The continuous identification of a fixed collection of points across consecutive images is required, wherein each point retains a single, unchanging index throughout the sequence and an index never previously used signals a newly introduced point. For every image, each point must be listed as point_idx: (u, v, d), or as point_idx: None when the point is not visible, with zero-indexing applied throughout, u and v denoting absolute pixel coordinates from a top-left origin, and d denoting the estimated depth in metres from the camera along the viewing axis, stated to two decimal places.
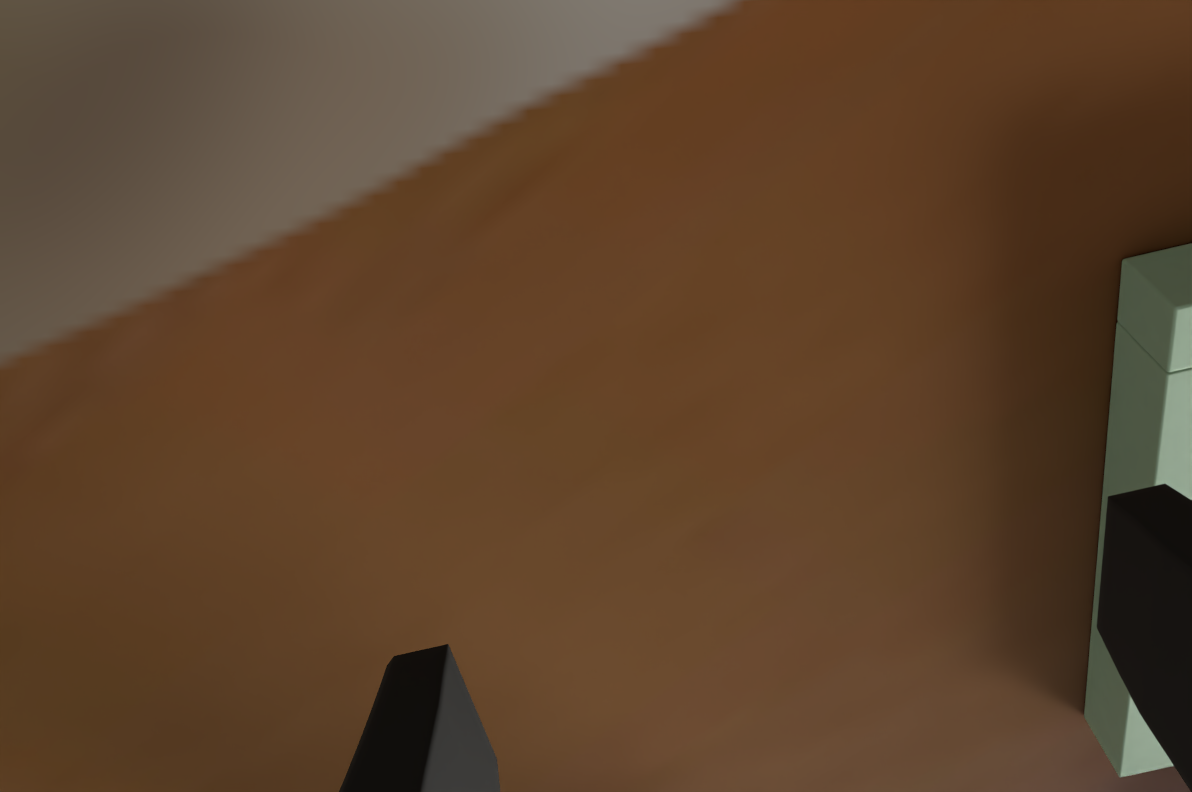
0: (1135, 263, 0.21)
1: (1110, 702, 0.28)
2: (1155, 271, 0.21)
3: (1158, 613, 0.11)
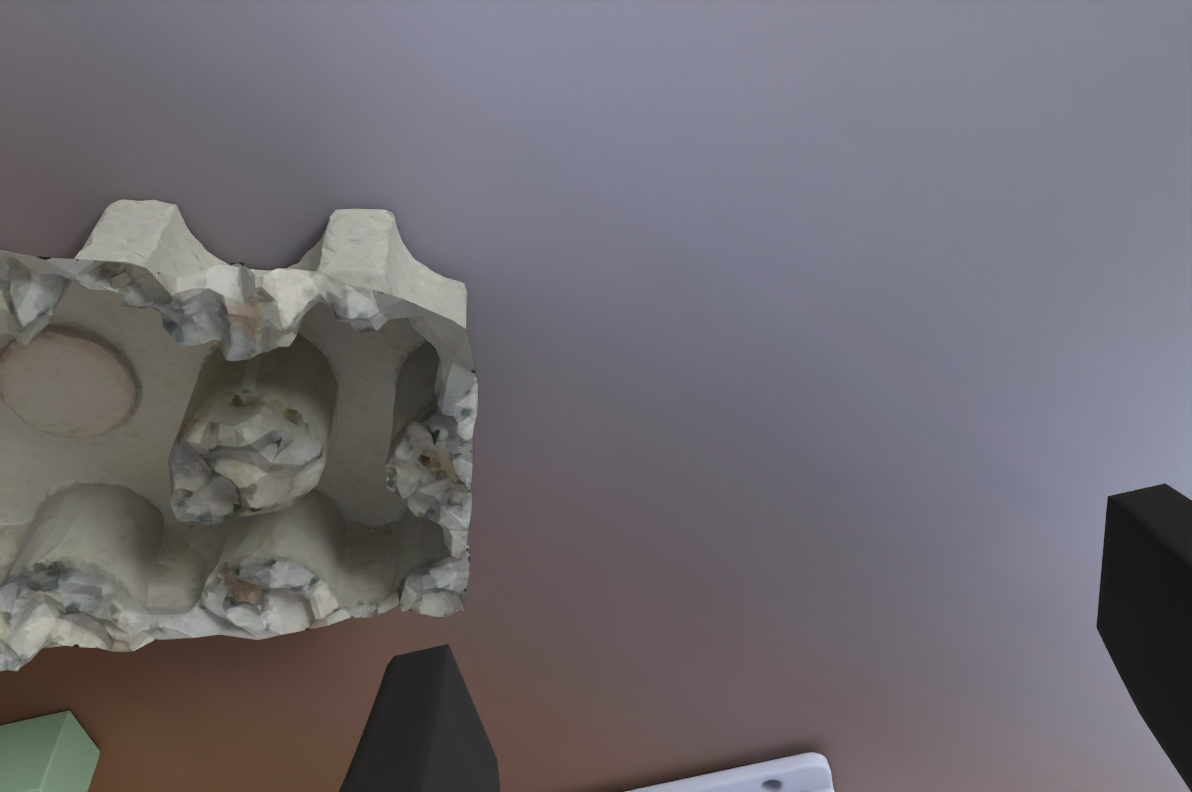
0: None
1: None
2: None
3: (1158, 613, 0.11)
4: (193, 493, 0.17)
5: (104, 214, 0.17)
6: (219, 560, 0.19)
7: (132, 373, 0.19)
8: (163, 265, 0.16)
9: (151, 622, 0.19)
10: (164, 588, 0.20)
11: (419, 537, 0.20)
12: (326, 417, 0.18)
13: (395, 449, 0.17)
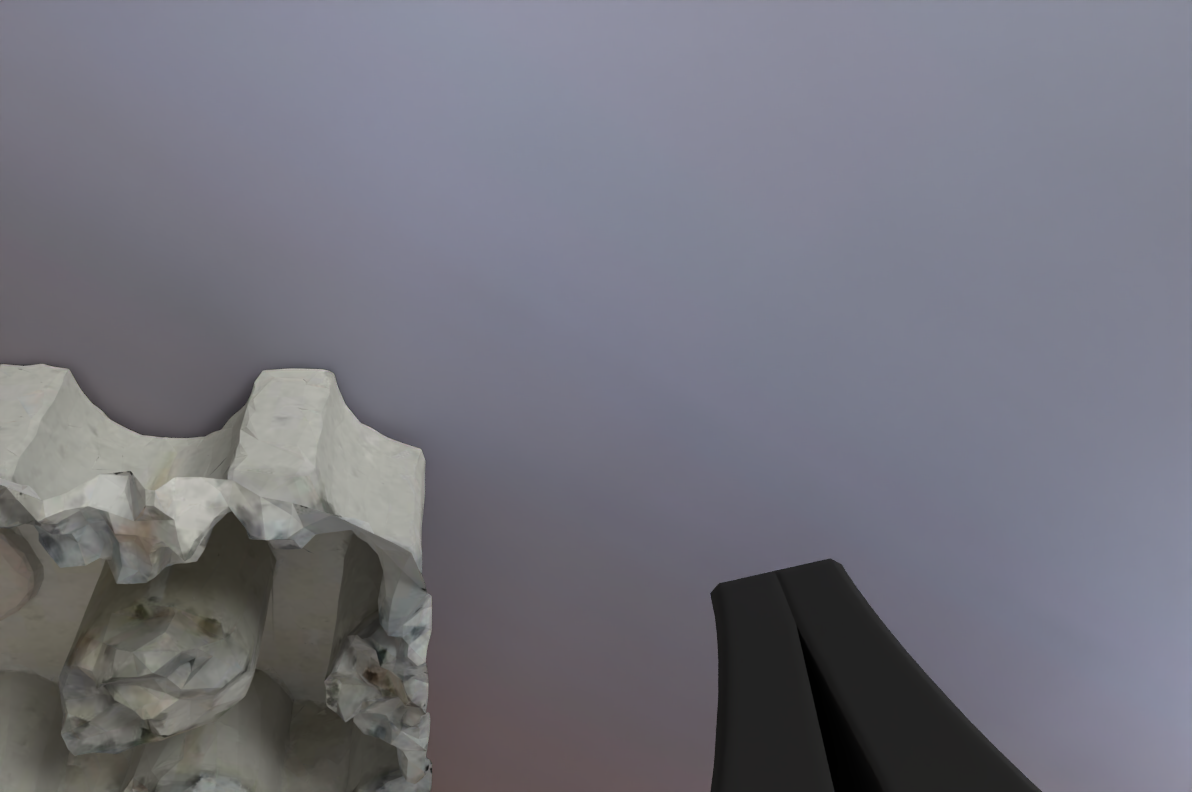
0: None
1: None
2: None
3: None
4: (90, 722, 0.14)
5: None
6: (135, 773, 0.16)
7: (28, 555, 0.16)
8: (46, 456, 0.13)
9: None
10: None
11: None
12: (256, 614, 0.15)
13: (335, 663, 0.14)
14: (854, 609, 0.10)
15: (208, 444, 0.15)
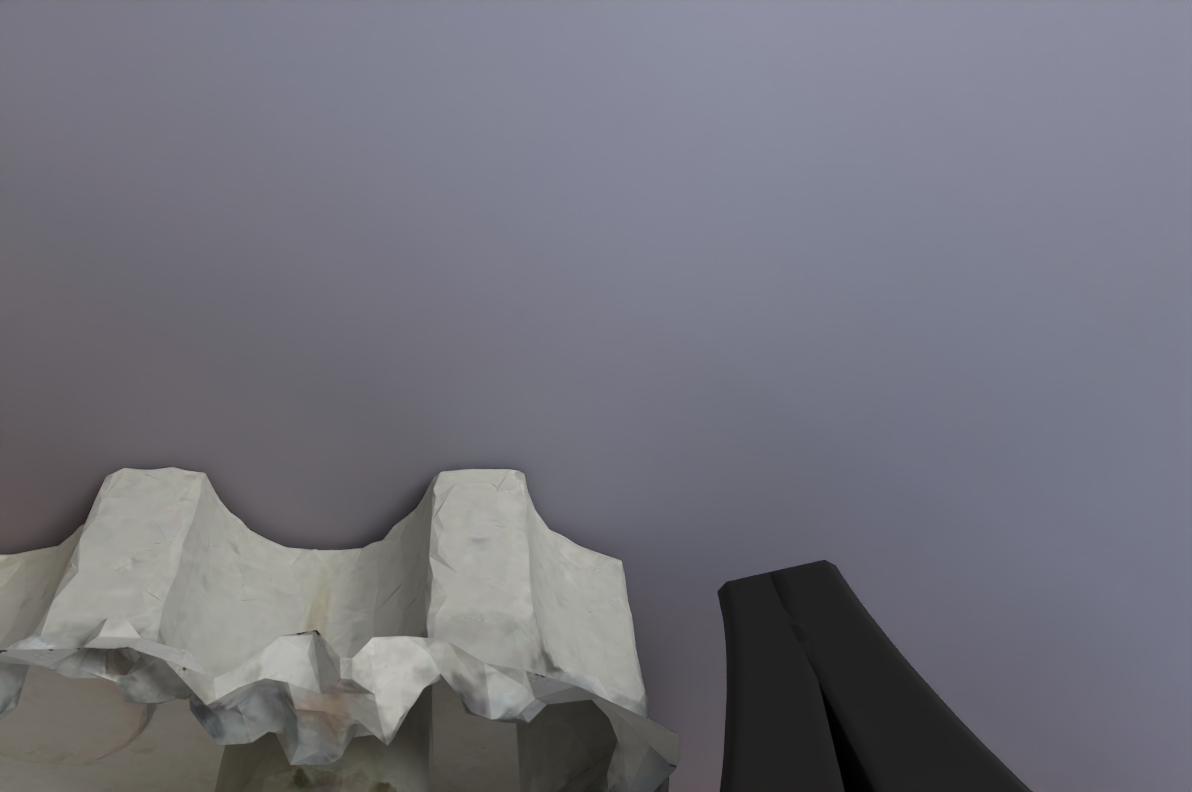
0: None
1: None
2: None
3: None
4: None
5: (97, 502, 0.11)
6: None
7: None
8: (189, 592, 0.11)
9: None
10: None
11: None
12: (425, 763, 0.12)
13: None
14: (848, 610, 0.10)
15: (369, 559, 0.12)
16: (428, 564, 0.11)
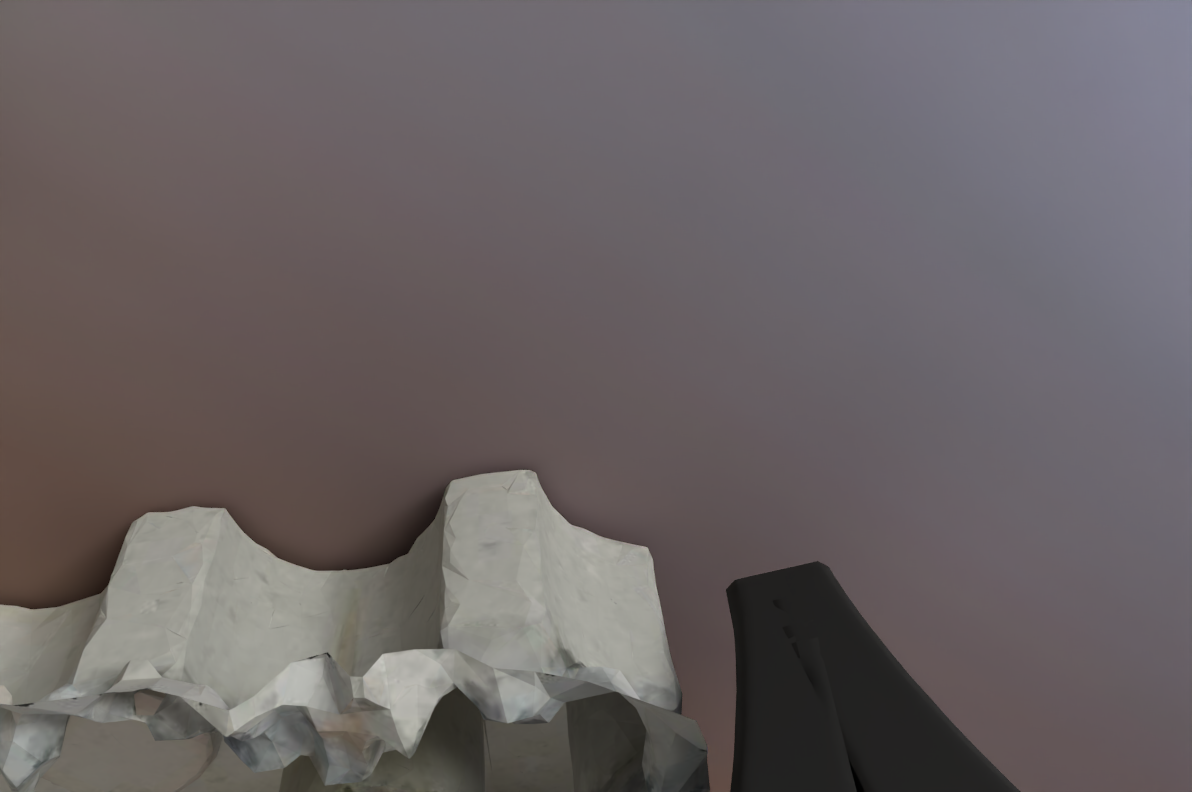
0: None
1: None
2: None
3: None
4: None
5: (124, 548, 0.11)
6: None
7: None
8: (216, 627, 0.11)
9: None
10: None
11: None
12: (477, 768, 0.12)
13: None
14: (840, 611, 0.10)
15: (396, 573, 0.12)
16: (442, 574, 0.11)
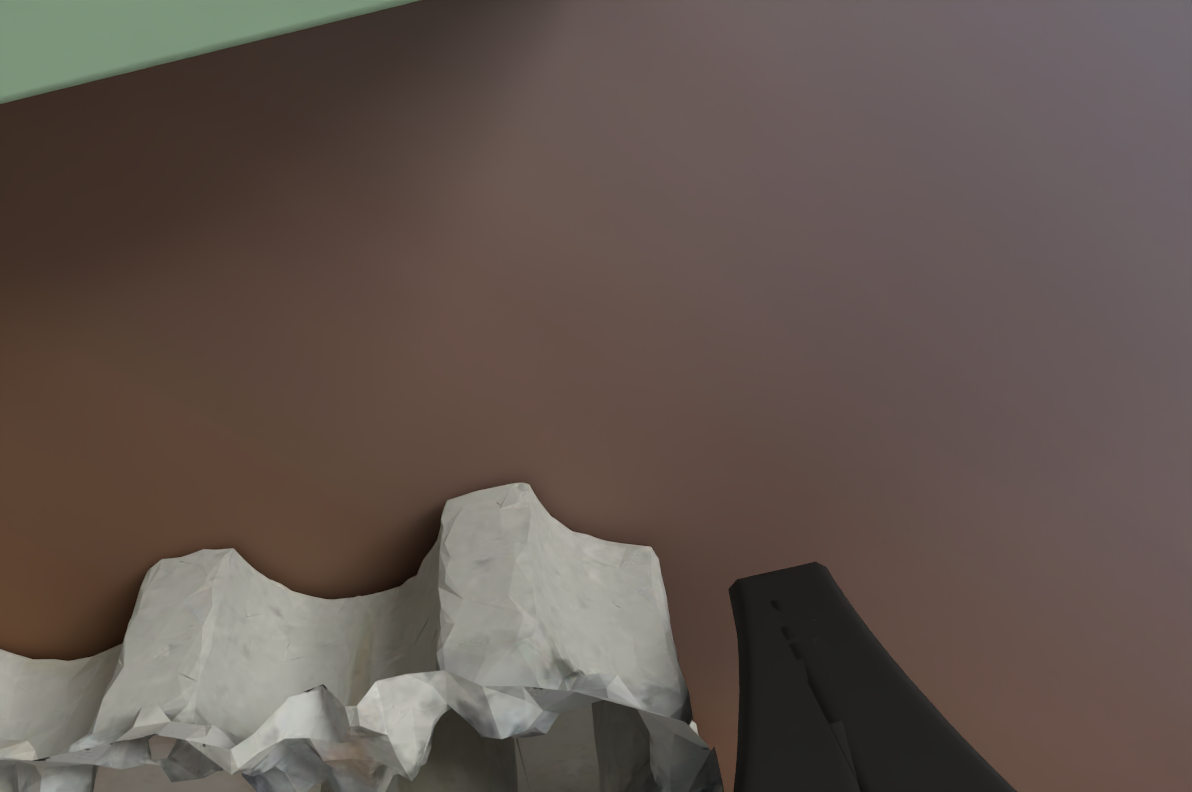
0: None
1: None
2: None
3: None
4: None
5: (139, 596, 0.12)
6: None
7: None
8: (229, 666, 0.11)
9: None
10: None
11: None
12: (506, 779, 0.13)
13: None
14: (838, 612, 0.10)
15: (406, 596, 0.12)
16: (438, 595, 0.11)
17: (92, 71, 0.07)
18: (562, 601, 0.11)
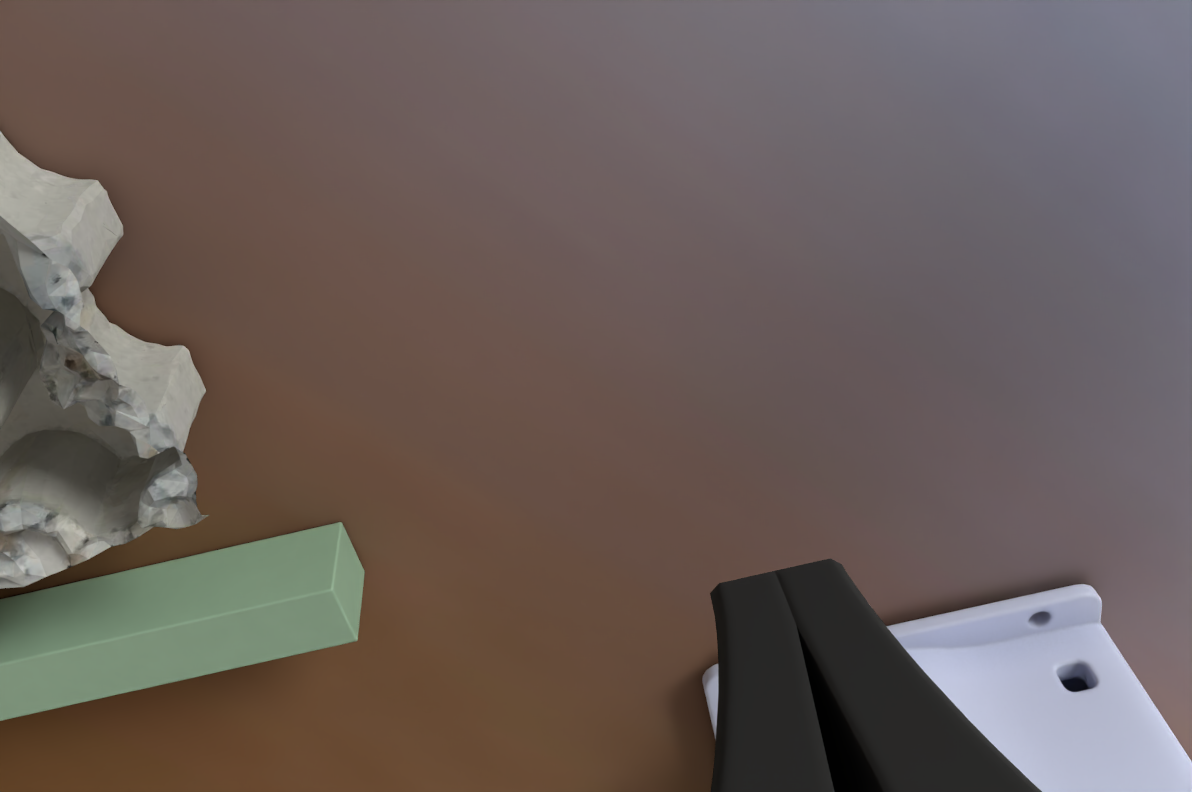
0: None
1: None
2: None
3: None
4: None
5: None
6: None
7: None
8: None
9: None
10: None
11: (159, 453, 0.19)
12: None
13: (42, 360, 0.17)
14: (854, 609, 0.10)
15: None
16: None
17: None
18: None
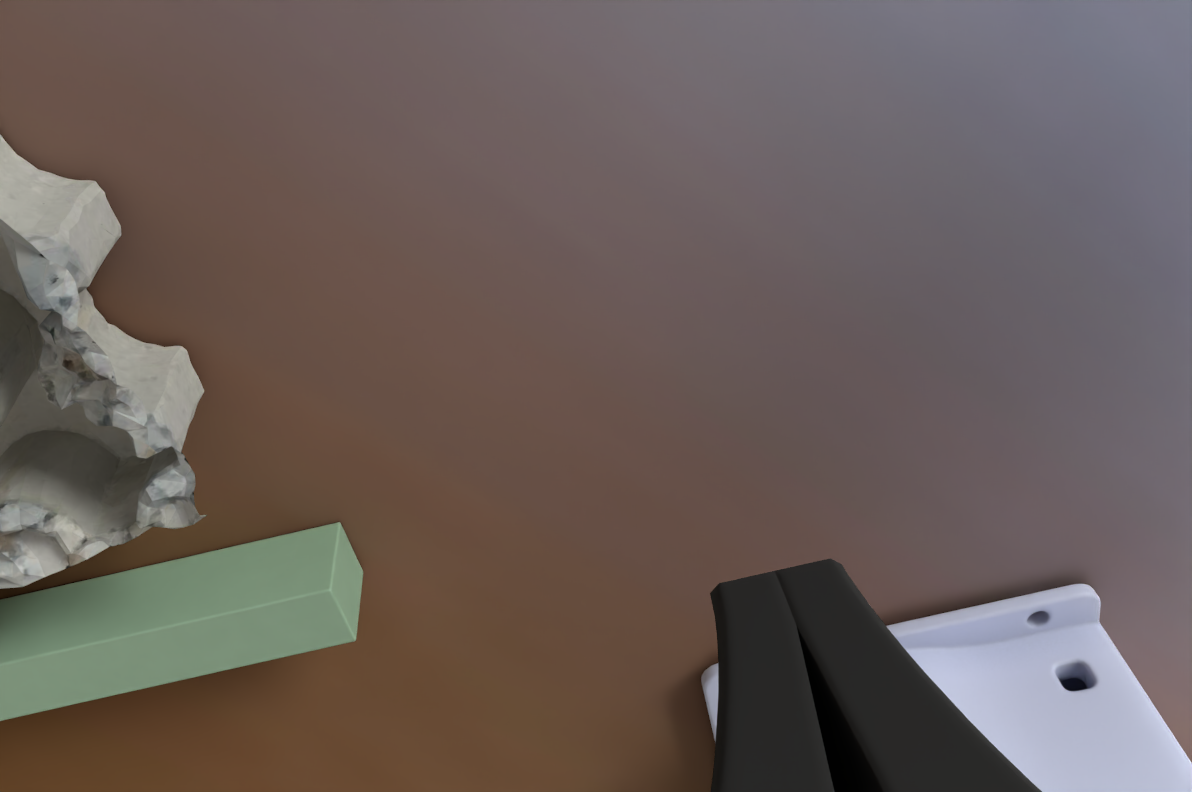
0: None
1: None
2: None
3: None
4: None
5: None
6: None
7: None
8: None
9: None
10: None
11: (157, 453, 0.19)
12: None
13: (39, 361, 0.17)
14: (854, 609, 0.10)
15: None
16: None
17: None
18: None
